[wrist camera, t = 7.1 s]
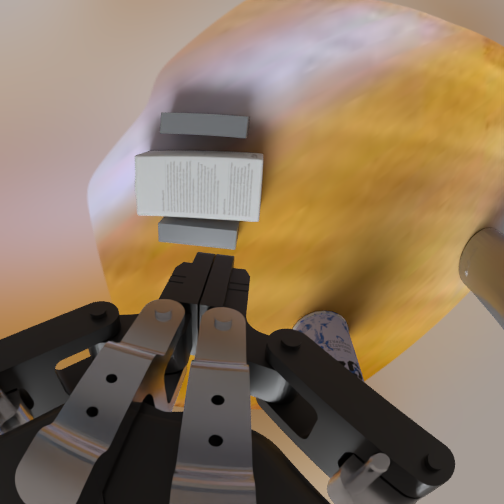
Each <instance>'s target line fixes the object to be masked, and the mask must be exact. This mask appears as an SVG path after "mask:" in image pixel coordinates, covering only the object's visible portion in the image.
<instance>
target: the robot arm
mask: <svg viewBox="0 0 504 504" xmlns="http://www.w3.org/2000/svg"><path fill="white" fill-rule="evenodd" d="M233 267H234V256H228V255H219V254H217V255H216V254H210V253H202V252H198V253H197V255H196V257H195V259H194V261H193V263H187V262H183V263H182V264H180V265H179V266H177V267H176V268H175V270H174V272H173V273H172V276H171V277H170V279H169V282H168V283H167V285H166V286H165V288H164V290H163V292H162V294H161V296H160V298H159V300H154V301H152V302H150V303H148V304H147V305H146V306H145V307H144V308H143V309H142V311H141V312H140V314H133V315H119V311H118V308H117V307H116V306H115V305H114V304H112V303H110V302H104V301H99V302H93V303H90V304H88V305H85V306H83V307H81V308H78V309H75V310H73V311H70V312H68V313H65V314H63V315H60V316H58V317H55V318H53V319H50V320H48V321H45V322H43V323H40V324H38V325H35V326H33V327H30V328H28V329H26V330H23V331H21V332H19V333H16V334H13V335H11V336H9V337H6V338H4V339H1V340H0V504H330V503H329V502H328V501H327V500H326V499H325V498H324V497H323V496H322V495H321V494H320V493H319V492H318V491H317V490H316V489H315V488H314V486H312V484H311V483H310V482H309V481H308V480H307V479H306V478H305V477H304V476H303V475H302V474H301V473H300V472H299V471H298V469H297V468H296V467H295V466H294V465H293V464H292V463H291V462H290V460H289V459H288V458H287V457H286V456H285V455H284V454H283V452H282V451H281V450H280V449H279V448H278V447H277V446H276V445H275V444H274V443H273V442H272V441H270V440H269V439H267V438H266V437H264V436H263V435H261V434H259V433H258V432H256V431H253V430H251V408H250V395H251V396H254V397H256V400H257V402H258V404H259V406H260V407H261V408H262V409H263V410H264V411H265V412H266V413H267V414H268V416H269V417H270V418H271V419H272V420H273V421H274V422H275V423H276V424H277V425H278V426H279V427H280V429H281V430H282V431H284V433H285V434H286V435H287V436H288V437H289V438H290V439H291V440H292V441H293V442H294V443H295V444H296V445H297V446H298V447H299V448H300V449H301V450H302V451H303V452H304V453H305V454H306V455H307V456H308V457H309V458H310V459H311V460H312V461H313V462H314V463H315V464H316V465H317V466H318V467H319V468H320V469H321V470H322V471H323V472H324V473H325V474H326V475H328V476H329V477H330V480H329V482H328V486H327V491H328V495H329V497H330V499H331V500H332V501H333V503H334V504H415V503H416V502H417V501H418V500H420V499H421V498H423V497H424V496H426V495H427V494H429V493H431V492H432V491H434V490H435V489H436V488H438V487H439V486H441V485H442V484H444V483H445V482H446V481H448V480H449V479H450V478H451V476H452V474H453V472H454V469H455V460H454V456H453V454H452V452H451V451H450V449H449V448H448V447H447V446H446V445H444V444H443V443H442V442H440V441H439V440H438V439H436V438H435V437H433V436H432V435H431V434H430V433H428V432H427V431H426V430H424V429H423V428H422V427H420V426H419V425H418V424H417V423H415V422H414V421H413V420H411V419H410V418H408V417H407V416H406V415H405V414H403V413H402V412H401V411H400V410H398V409H397V408H396V407H395V406H393V405H392V404H390V403H389V402H388V401H387V400H386V399H384V398H383V397H382V396H381V395H379V394H378V393H377V392H376V391H374V390H373V389H372V388H371V387H369V386H368V385H367V384H366V383H364V382H363V381H362V380H361V379H359V378H358V377H357V376H356V375H354V374H353V373H352V372H351V371H349V370H348V369H347V368H346V367H344V366H343V365H342V364H341V363H340V362H338V361H337V360H336V359H335V358H333V357H332V356H331V355H330V354H329V353H327V352H326V351H325V350H324V349H322V348H321V347H320V346H319V345H318V344H316V343H315V342H314V341H313V340H312V339H310V338H309V337H308V336H307V335H305V334H304V333H302V332H300V331H297V330H294V329H280V330H276V331H274V332H273V333H271V334H270V336H269V335H266V334H263V333H261V332H258V331H256V330H255V329H253V328H252V327H251V326H250V325H249V324H248V322H247V319H246V311H247V301H248V291H249V281H250V276H249V274H248V273H247V271H246V270H245V269H236V268H233ZM459 274H460V278H461V280H462V281H463V283H464V284H465V285H466V286H467V287H468V288H469V289H470V290H471V291H472V292H473V293H474V295H475V296H476V297H477V298H478V299H479V301H480V302H481V303H482V304H483V305H484V306H485V307H486V309H487V310H488V311H489V312H490V313H491V314H492V316H493V317H494V318H495V319H496V320H497V322H498V323H499V324H500V325H501V327H502V328H503V329H504V235H503V234H502V233H500V232H499V231H497V230H496V229H493V228H486V229H483V230H481V231H479V232H478V233H476V234H475V235H474V236H473V237H472V238H471V240H470V241H469V242H468V244H467V245H466V247H465V249H464V251H463V253H462V256H461V259H460V264H459ZM85 349H89V352H90V355H91V356H90V357H88V358H86V359H84V360H81V361H79V362H77V363H75V364H73V365H71V366H68V367H66V368H64V369H62V370H56V369H55V366H56V364H57V363H58V362H59V361H61V360H63V359H65V358H67V357H70V356H72V355H74V354H76V353H79V352H81V351H83V350H85ZM190 355H195V359H194V360H192V362H191V366H190V372H189V379H188V385H187V391H186V398H185V404H184V411H183V412H172V409H173V406H174V404H175V401H176V399H177V396H178V393H179V391H180V388H181V385H182V383H183V380H184V378H185V375H186V372H187V363H188V360H189V357H190Z"/></svg>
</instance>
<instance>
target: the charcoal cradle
mask: <svg viewBox="0 0 504 504" xmlns="http://www.w3.org/2000/svg"><path fill="white" fill-rule="evenodd" d="M249 118H250V117H245V116H234V115H219V114H200V113H161V124H160V134H191V135H210V136H224V137H236V138H247V136H248V127H249ZM238 228H239V221H236V220H221V219H206V218H189V217H171V216H164V217H163V219H162V220H161V221H160V222H159V223H158V233H159V241H160V242H169V243H178V244H188V245H197V246H206V247H215V248H224V249H234V250H235V248H236V243H237V238H238Z"/></svg>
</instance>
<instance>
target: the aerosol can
mask: <svg viewBox="0 0 504 504" xmlns="http://www.w3.org/2000/svg"><path fill="white" fill-rule="evenodd" d="M293 329H294V330H297V331H300V332H302V333H304V334H305V335H307V336H308V337H309V338H310V339H312V340H313V341H314V342H315V343H316V344H318V345H319V346H320V347H321V348H322V349H324V350H325V351H326V352H327V353H329V354H330V355H331V356H332V357H333V358H335V359H336V360H337V361H338V362H340V363H341V364H342V365H343V366H344V367H346V368H347V369H348V370H349V371H351V372H352V373H353V374H354V375H356V376H357V377H358V378H359V379H361V380H362V381H363V382H364V380H363V376H362V373H361V370H360V367H359V363H358V360H357V357H356V354H355V350H354V347H353V344H352V341H351V338H350V335H349V328H348V325H347V322H346V320H345V319H344V318H343V317H342V316H341V315H339V314H337V313H335V312H332V311H318V312H313V313H310V314H308V315H305V316H304V317H303V318H301V319H300V320H299V321H298V322H297V323H296V324H295V326H294V327H293Z"/></svg>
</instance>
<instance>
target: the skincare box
mask: <svg viewBox="0 0 504 504" xmlns="http://www.w3.org/2000/svg"><path fill="white" fill-rule="evenodd" d="M262 175H263V154H261V153H247V152H228V151H192V150H164V151H162V150H158V151H148V152H145V153H142V154H139V155H136V156H135V193H136V202H137V214H138V215H144V216H171V217H189V218H206V219H221V220H236V221H250V222H258V221H259V215H260V203H261V190H262Z"/></svg>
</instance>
